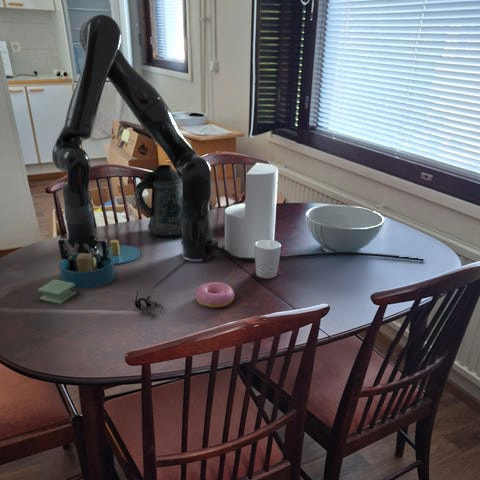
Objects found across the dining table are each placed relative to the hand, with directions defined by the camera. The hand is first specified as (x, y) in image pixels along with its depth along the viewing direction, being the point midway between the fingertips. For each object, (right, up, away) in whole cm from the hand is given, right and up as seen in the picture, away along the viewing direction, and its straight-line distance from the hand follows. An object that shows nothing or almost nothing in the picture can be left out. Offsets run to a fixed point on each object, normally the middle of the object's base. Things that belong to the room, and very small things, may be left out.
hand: (87, 271), depth 144 cm
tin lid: (+4, +7, +16) cm, 18 cm away
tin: (0, -2, +1) cm, 2 cm away
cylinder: (+49, +10, +25) cm, 56 cm away
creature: (+22, -12, -16) cm, 29 cm away
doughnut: (+39, -9, -10) cm, 41 cm away
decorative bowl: (+82, +11, +27) cm, 87 cm away
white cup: (+54, 0, +7) cm, 55 cm away
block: (0, -2, +1) cm, 2 cm away
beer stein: (+19, +17, +36) cm, 44 cm away
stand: (-5, -8, -10) cm, 14 cm away
